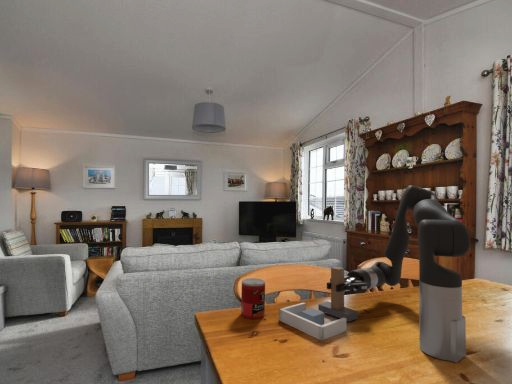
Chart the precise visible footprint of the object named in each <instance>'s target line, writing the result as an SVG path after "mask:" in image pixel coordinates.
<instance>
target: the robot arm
mask: <svg viewBox="0 0 512 384" xmlns="http://www.w3.org/2000/svg"><path fill="white" fill-rule="evenodd" d="M408 210H410V211H412V215H413V219H414V221H415V223H416V224H417V244H418V245H417V246H418V263H419V264H418V266H419V267H418V268H419V271H418V273H419V275H418V276H419V277H418V280H419V284H418V285H419V286H418V288H419V293H418V294H419V295H418V296H419V299H418V300H419V313H418V314H419V319H418V320H419V325H418V326H419V337H418V338H419V349H420V350H421V351H422V353H425V354H427V355H428V356H431V357H433V358H436V359H438V360H443V361H449V362H453V363H456V364H457V363H459V362H460V361H461V360H462V359H464V358H465V357H466V356H467V347H466V346H467V339H466V338H467V336H466V333H467V332H466V327H467V326H466V323H467V322H466V321H467V320H466V316H465V315H463V278H462V277H463V276H462V275H461V273H459V272H458V271H455V270H452V269H450V268H447V267H445V266H442V265H441V264H439V263H438V262H437V261H435V257H446V258H447V257H451V258H457V257H462V256H465V255H466V254H467V253H468V252H469V250H470V247H471V236H470V232H469V230H468V228H467V226H466V225H465V224H464V223H463V222H462V221H461V220H459V219H458V218H456V217H455V216H453V215H451V213H449V212H448V211H447V210H446V208H445V207H444V205H442V203H440V202H439V199H438V197H437V194H435V192H433V191H431V190H429V189H426V188H423V187H419V186H417V185H412V184H411V185H408V186H407V187H406V188H405V189H404V191H403V194H402V196H401V199H400V201H399V206H398V208H397V213H396V215H395V219H394V224H393V228H392V232H391V234H390V237H389V239H388V242H387V244H386V246H385V250H384V252H383V255H384V257H386V258H387V259H388V260H389V261H390V262H391V265H390V264H387V263H386V262H383V261H376V262H375V263H374V264H373V265H371V266H369V267H364V268H358V269H353V270H350V271H349V272H348V273H347V274H346V275H344V283H342V284H338V285H336V292H341V291H344V292H348V291H349V292H350V293H362V292H367V291H368V290H371V289H373V288H375V287H379V286H381V285H382V284H383V283H385V284H386V285H387V286H390V287H395V286H397V285H398V284H399V283H400V281H401V278H402V269H403V261H404V259H405V255H406V254H407V253H406V252H407V250H408V248H409V245H410V235H409V228H408V226H407V212H408ZM326 289H327V290H330V291H331V277H330V278H329V281H327V282H326Z"/></svg>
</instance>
